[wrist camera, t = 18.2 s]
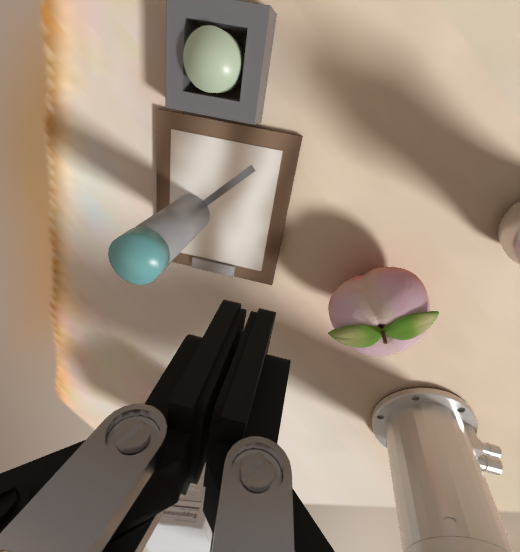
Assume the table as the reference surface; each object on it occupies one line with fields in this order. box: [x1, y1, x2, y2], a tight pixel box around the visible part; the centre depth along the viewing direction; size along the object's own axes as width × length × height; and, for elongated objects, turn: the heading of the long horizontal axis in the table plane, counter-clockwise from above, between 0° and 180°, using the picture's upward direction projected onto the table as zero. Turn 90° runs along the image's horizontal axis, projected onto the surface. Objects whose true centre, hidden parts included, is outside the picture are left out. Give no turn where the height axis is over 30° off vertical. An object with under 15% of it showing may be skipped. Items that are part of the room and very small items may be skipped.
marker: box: [108, 195, 210, 285], centre depth 30 cm, size 4×4×12 cm
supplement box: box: [146, 462, 212, 552], centre depth 45 cm, size 10×9×17 cm
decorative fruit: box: [328, 267, 439, 356], centre depth 32 cm, size 9×8×10 cm
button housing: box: [165, 0, 277, 125], centre depth 28 cm, size 8×8×3 cm
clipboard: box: [157, 109, 302, 285], centre depth 35 cm, size 14×16×1 cm
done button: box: [183, 25, 244, 93], centre depth 27 cm, size 4×4×2 cm
